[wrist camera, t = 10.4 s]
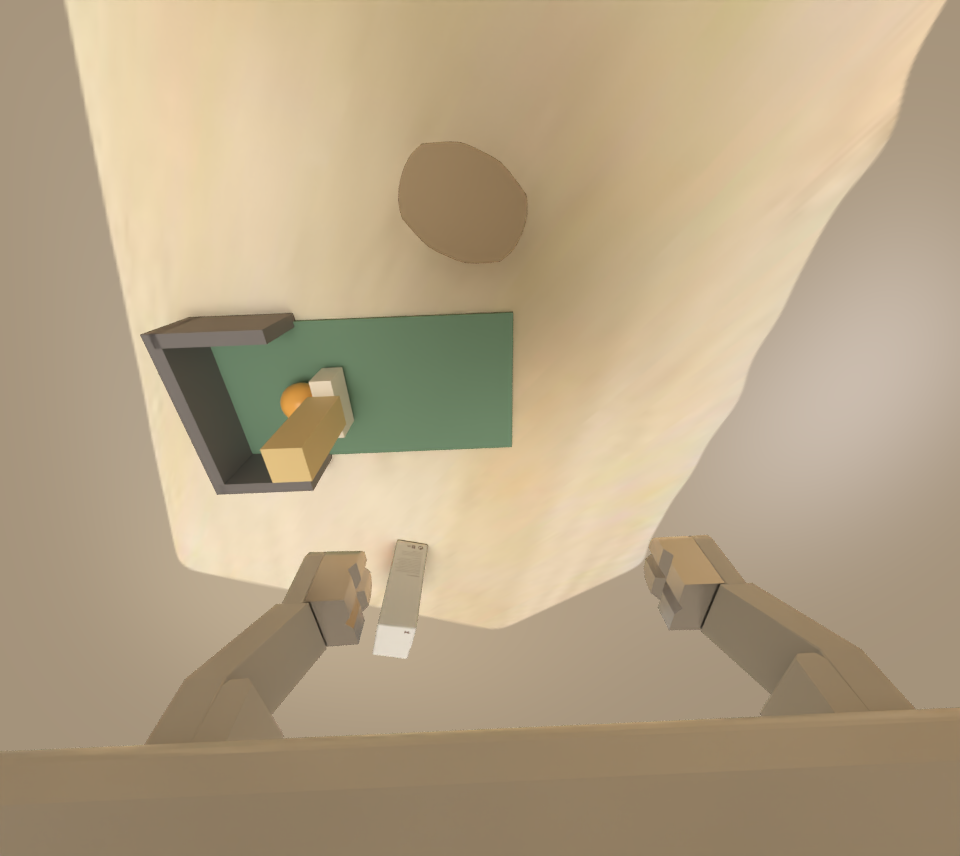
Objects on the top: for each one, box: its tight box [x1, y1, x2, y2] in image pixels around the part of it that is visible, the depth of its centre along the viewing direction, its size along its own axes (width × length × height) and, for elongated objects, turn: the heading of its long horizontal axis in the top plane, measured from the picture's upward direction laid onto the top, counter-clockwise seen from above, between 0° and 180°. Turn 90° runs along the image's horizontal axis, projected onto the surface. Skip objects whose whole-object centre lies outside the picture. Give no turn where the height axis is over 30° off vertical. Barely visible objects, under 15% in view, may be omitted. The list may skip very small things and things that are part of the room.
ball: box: [280, 383, 312, 418], centre depth 37 cm, size 4×4×4 cm
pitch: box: [211, 312, 513, 454], centre depth 39 cm, size 15×31×1 cm, turn 92°
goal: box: [140, 313, 332, 495], centre depth 37 cm, size 16×10×6 cm, turn 2°
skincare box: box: [373, 540, 428, 659], centre depth 47 cm, size 6×4×12 cm
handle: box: [398, 142, 527, 263], centre depth 25 cm, size 5×6×15 cm
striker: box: [260, 367, 354, 483], centre depth 33 cm, size 6×3×13 cm, turn 2°
